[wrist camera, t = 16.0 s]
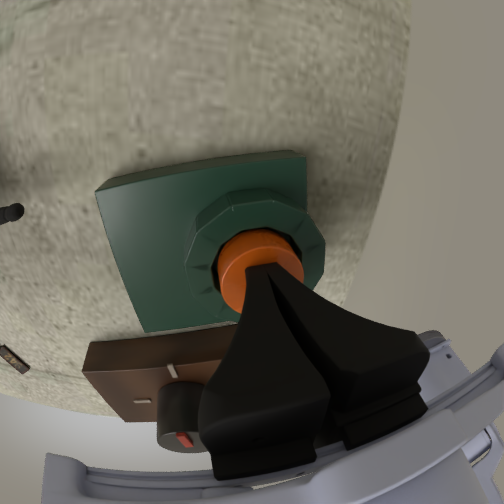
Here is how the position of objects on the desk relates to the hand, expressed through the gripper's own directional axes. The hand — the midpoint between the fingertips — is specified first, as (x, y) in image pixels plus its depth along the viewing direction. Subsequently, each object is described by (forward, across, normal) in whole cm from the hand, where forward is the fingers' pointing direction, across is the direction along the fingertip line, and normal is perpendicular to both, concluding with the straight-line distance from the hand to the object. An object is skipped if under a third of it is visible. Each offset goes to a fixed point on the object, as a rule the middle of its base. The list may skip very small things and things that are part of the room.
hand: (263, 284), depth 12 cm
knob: (+2, +6, +11) cm, 13 cm away
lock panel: (+5, +6, +11) cm, 14 cm away
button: (+2, 0, 0) cm, 2 cm away
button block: (+5, +2, 0) cm, 5 cm away
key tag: (+5, +24, +7) cm, 26 cm away
